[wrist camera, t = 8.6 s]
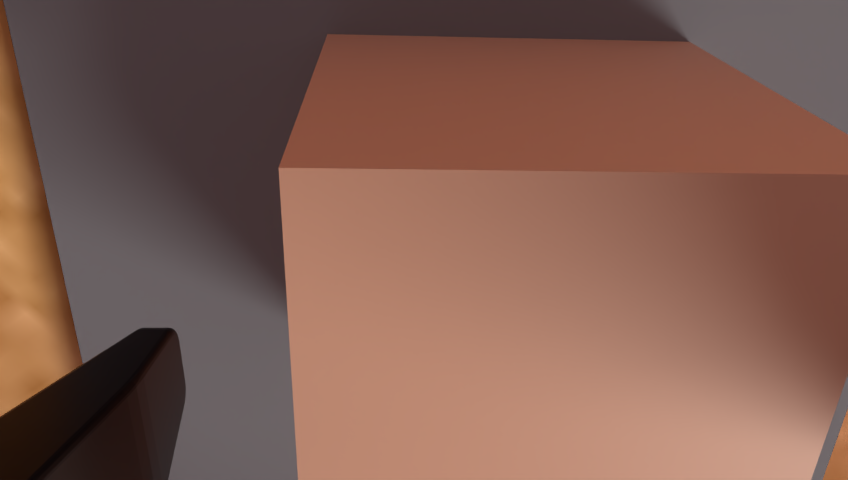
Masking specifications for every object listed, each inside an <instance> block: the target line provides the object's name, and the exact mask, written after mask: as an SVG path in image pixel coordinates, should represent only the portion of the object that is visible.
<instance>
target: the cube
mask: <svg viewBox="0 0 848 480" xmlns="http://www.w3.org/2000/svg"><path fill="white" fill-rule="evenodd" d="M279 183H280V199H281V215H282V231H283V247H284V263H285V279H286V295H287V311H288V327H289V343H290V359H291V375H292V391H293V407H294V423H295V439H296V455H297V471H298V480H811V478H812V476H813V473H814V470H815V467H816V464H817V461H818V458H819V456H820V453H821V450H822V447H823V444H824V441H825V438H826V436H827V433H828V430H829V427H830V424H831V421H832V418H833V415H834V413H835V410H836V407H837V404H838V401H839V398H840V395H841V393H842V390H843V387H844V384H845V381H846V378H847V375H848V134H846V133H844V132H843V131H841V130H839V129H837V128H836V127H834V126H832V125H831V124H829V123H827V122H825V121H824V120H822V119H820V118H819V117H817V116H815V115H814V114H812V113H810V112H808V111H807V110H805V109H803V108H802V107H800V106H798V105H796V104H795V103H793V102H791V101H790V100H788V99H786V98H785V97H783V96H781V95H779V94H778V93H776V92H774V91H773V90H771V89H769V88H767V87H766V86H764V85H762V84H761V83H759V82H757V81H756V80H754V79H752V78H750V77H749V76H747V75H745V74H744V73H742V72H740V71H738V70H737V69H735V68H733V67H732V66H730V65H728V64H727V63H725V62H723V61H721V60H720V59H718V58H716V57H715V56H713V55H711V54H709V53H708V52H706V51H704V50H703V49H701V48H699V47H698V46H696V45H694V44H692V43H691V42H679V41H631V40H583V39H535V38H487V37H439V36H391V35H344V34H327V37H326V40H325V42H324V45H323V48H322V50H321V53H320V56H319V59H318V61H317V64H316V67H315V70H314V72H313V75H312V78H311V80H310V83H309V86H308V89H307V91H306V94H305V97H304V100H303V102H302V105H301V108H300V111H299V113H298V116H297V119H296V121H295V124H294V127H293V130H292V132H291V135H290V138H289V141H288V143H287V146H286V149H285V152H284V154H283V157H282V160H281V162H280V165H279Z"/></svg>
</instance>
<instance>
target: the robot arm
mask: <svg viewBox="0 0 848 480" xmlns="http://www.w3.org/2000/svg"><path fill="white" fill-rule="evenodd" d="M185 398H186V383H185V376H184V369H183V362H182V356H181V349H180V342H179V337H178V334H177V332H176V331H175V330H174V329H173V328H139V329H138V330H136V331H134V332H133V333H131V334H129V335H128V336H126V337H125V338H123V339H122V340H120V341H118V342H117V343H115V344H114V345H112V346H111V347H109V348H107V349H106V350H104V351H103V352H101V353H100V354H98V355H96V356H95V357H93V358H92V359H90V360H89V361H87V362H85V363H84V364H82V365H81V366H79V367H78V368H76V369H74V370H73V371H71V372H70V373H68V374H67V375H65V376H63V377H62V378H60V379H59V380H57V381H56V382H54V383H52V384H51V385H49V386H48V387H46V388H45V389H43V390H41V391H40V392H38V393H37V394H35V395H34V396H32V397H30V398H29V399H27V400H26V401H24V402H23V403H21V404H20V405H18V406H16V407H15V408H13V409H12V410H10V411H9V412H7V413H5V414H4V415H2V416H1V417H0V480H168V478H169V474H170V469H171V465H172V460H173V455H174V451H175V446H176V442H177V437H178V432H179V428H180V423H181V419H182V414H183V410H184V405H185Z"/></svg>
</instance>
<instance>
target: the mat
mask: <svg viewBox="0 0 848 480" xmlns="http://www.w3.org/2000/svg"><path fill="white" fill-rule="evenodd" d="M3 2H4V7H5V11H6V16H7V20H8V25H9V29H10V34H11V38H12V43H13V48H14V52H15V57H16V61H17V66H18V70H19V75H20V80H21V84H22V89H23V93H24V98H25V102H26V107H27V111H28V116H29V121H30V125H31V130H32V134H33V139H34V143H35V148H36V153H37V157H38V162H39V166H40V171H41V175H42V180H43V184H44V189H45V194H46V198H47V203H48V207H49V212H50V216H51V221H52V226H53V230H54V235H55V239H56V244H57V248H58V253H59V257H60V262H61V267H62V271H63V276H64V280H65V285H66V289H67V294H68V299H69V303H70V308H71V312H72V317H73V321H74V326H75V330H76V335H77V340H78V344H79V349H80V353H81V358H82V362H83V364H84V363H85V362H87V361H89V360H90V359H92V358H93V357H95V356H96V355H98V354H100V353H101V352H103V351H104V350H106V349H107V348H109V347H111V346H112V345H114V344H115V343H117V342H118V341H120V340H122V339H123V338H125V337H126V336H128V335H129V334H131V333H133V332H134V331H136V330H138V329H139V328H173V329H174V330H175V331H176V332H177V334H178V337H179V342H180V349H181V356H182V362H183V369H184V376H185V383H186V398H185V405H184V410H183V414H182V419H181V423H180V428H179V432H178V437H177V442H176V446H175V451H174V455H173V460H172V465H171V469H170V474H169V478H168V480H298V471H297V455H296V439H295V423H294V407H293V391H292V375H291V359H290V343H289V327H288V311H287V295H286V279H285V263H284V247H283V231H282V215H281V199H280V183H279V165H280V162H281V160H282V157H283V154H284V152H285V149H286V146H287V143H288V141H289V138H290V135H291V132H292V130H293V127H294V124H295V121H296V119H297V116H298V113H299V111H300V108H301V105H302V102H303V100H304V97H305V94H306V91H307V89H308V86H309V83H310V80H311V78H312V75H313V72H314V70H315V67H316V64H317V61H318V59H319V56H320V53H321V50H322V48H323V45H324V42H325V40H326V37H327V34H344V35H391V36H439V37H487V38H535V39H583V40H631V41H679V42H691V43H692V44H694V45H696V46H698V47H699V48H701V49H703V50H704V51H706V52H708V53H709V54H711V55H713V56H715V57H716V58H718V59H720V60H721V61H723V62H725V63H727V64H728V65H730V66H732V67H733V68H735V69H737V70H738V71H740V72H742V73H744V74H745V75H747V76H749V77H750V78H752V79H754V80H756V81H757V82H759V83H761V84H762V85H764V86H766V87H767V88H769V89H771V90H773V91H774V92H776V93H778V94H779V95H781V96H783V97H785V98H786V99H788V100H790V101H791V102H793V103H795V104H796V105H798V106H800V107H802V108H803V109H805V110H807V111H808V112H810V113H812V114H814V115H815V116H817V117H819V118H820V119H822V120H824V121H825V122H827V123H829V124H831V125H832V126H834V127H836V128H837V129H839V130H841V131H843V132H844V133H846V134H848V0H3ZM847 409H848V375H847V378H846V381H845V384H844V387H843V390H842V393H841V395H840V398H839V401H838V404H837V407H836V410H835V413H834V415H833V418H832V421H831V424H830V427H829V430H828V433H827V436H826V438H825V441H824V444H823V447H822V450H821V453H820V456H819V458H818V461H817V464H816V467H815V470H814V473H813V476H812V478H811V480H822V479H823V477H824V474H825V471H826V468H827V465H828V462H829V460H830V457H831V454H832V451H833V448H834V445H835V443H836V440H837V437H838V434H839V431H840V429H841V426H842V423H843V420H844V417H845V414H846V412H847Z"/></svg>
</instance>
